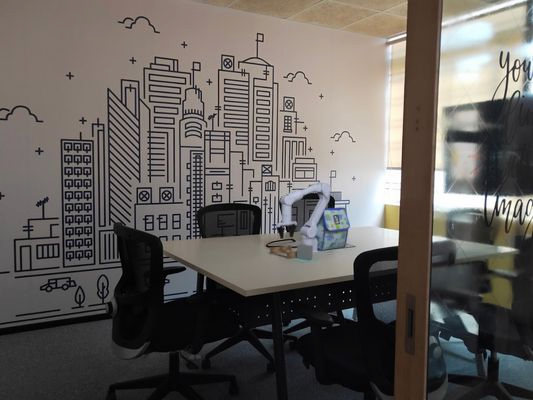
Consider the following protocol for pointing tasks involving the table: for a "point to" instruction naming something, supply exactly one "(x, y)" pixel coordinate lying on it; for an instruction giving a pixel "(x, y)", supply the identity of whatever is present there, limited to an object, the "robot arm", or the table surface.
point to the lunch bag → (332, 229)
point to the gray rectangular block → (304, 251)
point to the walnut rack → (283, 250)
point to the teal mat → (304, 260)
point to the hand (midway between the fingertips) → (286, 237)
